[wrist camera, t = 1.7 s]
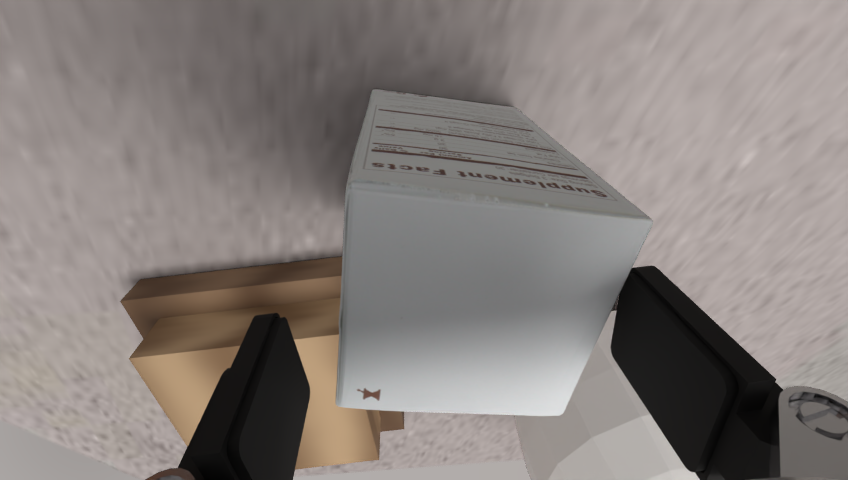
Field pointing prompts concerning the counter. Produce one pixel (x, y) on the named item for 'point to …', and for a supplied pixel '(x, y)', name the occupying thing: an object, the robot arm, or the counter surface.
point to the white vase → (599, 430)
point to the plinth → (239, 296)
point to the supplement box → (473, 261)
